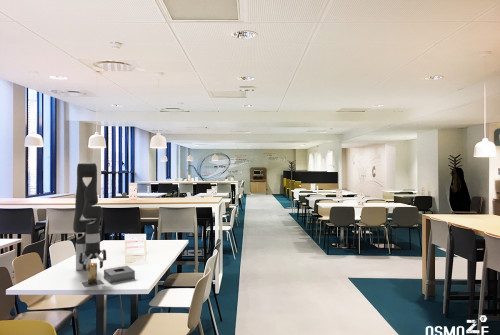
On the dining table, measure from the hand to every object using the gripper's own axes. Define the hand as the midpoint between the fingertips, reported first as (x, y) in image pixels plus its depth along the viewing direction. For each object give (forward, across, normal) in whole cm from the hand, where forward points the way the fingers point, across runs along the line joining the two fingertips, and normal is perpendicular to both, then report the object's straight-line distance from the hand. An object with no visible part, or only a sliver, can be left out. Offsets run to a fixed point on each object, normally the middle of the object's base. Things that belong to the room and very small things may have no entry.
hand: (92, 269), depth 204 cm
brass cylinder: (+8, 0, 0) cm, 8 cm away
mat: (+8, 0, 0) cm, 8 cm away
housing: (+8, -15, -1) cm, 17 cm away
